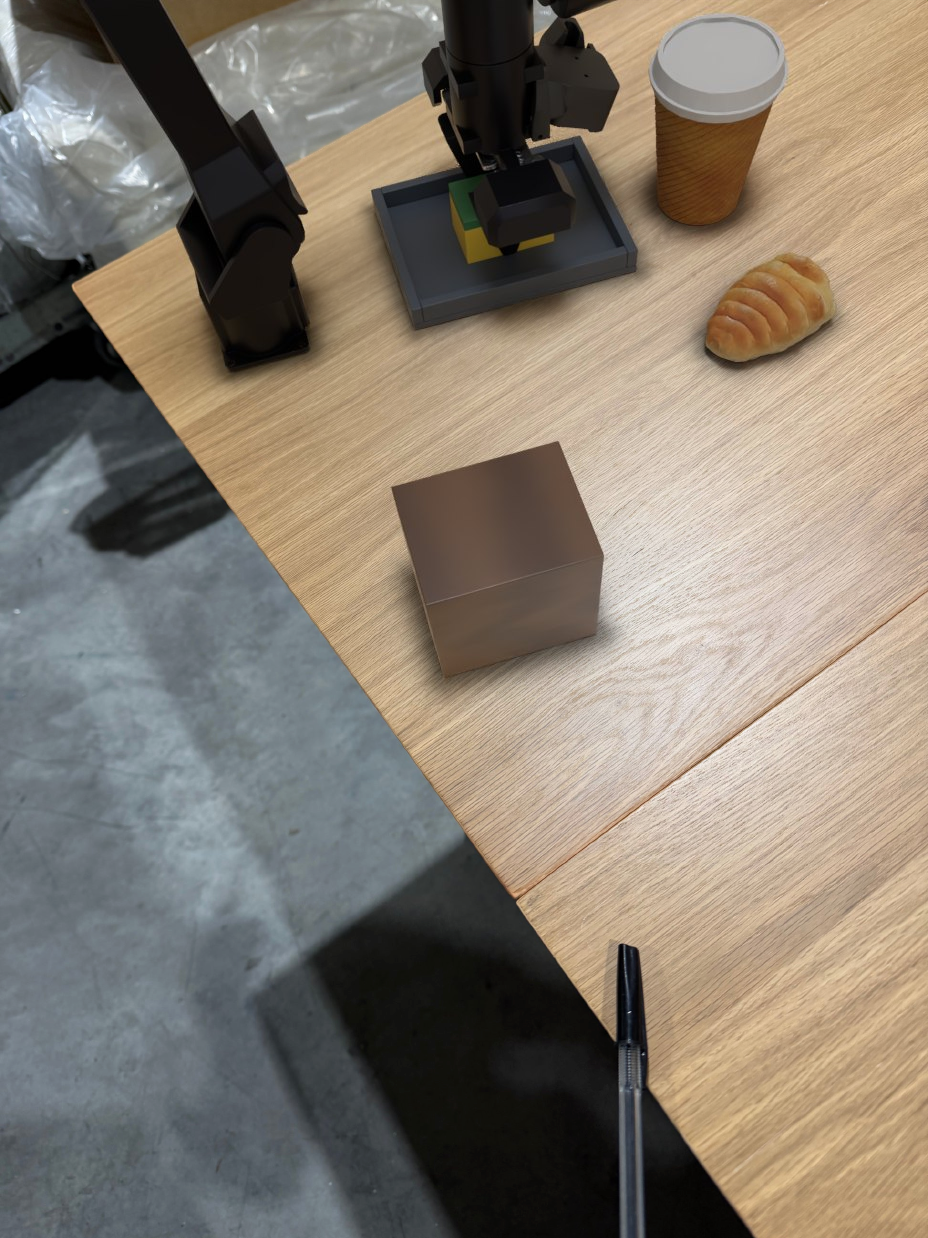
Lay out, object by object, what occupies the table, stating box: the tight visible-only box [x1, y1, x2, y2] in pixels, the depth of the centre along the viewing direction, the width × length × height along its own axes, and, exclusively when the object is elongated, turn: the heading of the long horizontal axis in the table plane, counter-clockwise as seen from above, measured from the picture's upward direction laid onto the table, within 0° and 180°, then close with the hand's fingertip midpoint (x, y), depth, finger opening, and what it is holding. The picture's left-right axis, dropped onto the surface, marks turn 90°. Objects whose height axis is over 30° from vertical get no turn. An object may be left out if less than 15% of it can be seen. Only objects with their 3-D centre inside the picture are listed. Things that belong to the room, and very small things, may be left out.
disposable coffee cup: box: [648, 12, 789, 226], centre depth 71 cm, size 10×10×12 cm
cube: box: [390, 440, 605, 678], centre depth 58 cm, size 10×8×10 cm
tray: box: [370, 135, 639, 331], centre depth 75 cm, size 18×14×2 cm
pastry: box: [705, 252, 837, 363], centre depth 69 cm, size 9×7×4 cm
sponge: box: [448, 164, 554, 264], centre depth 74 cm, size 7×4×4 cm, turn 105°
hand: (500, 231), depth 76 cm, fingers closed on sponge, 4 cm apart
